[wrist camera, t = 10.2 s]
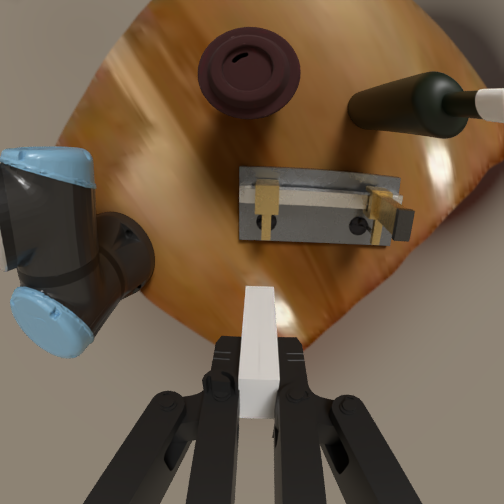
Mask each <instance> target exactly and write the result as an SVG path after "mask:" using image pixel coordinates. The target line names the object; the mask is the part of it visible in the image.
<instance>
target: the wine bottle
mask: <svg viewBox="0 0 504 504" xmlns="http://www.w3.org/2000/svg"><path fill="white" fill-rule="evenodd" d="M348 113H349V116H350V118H351V120H352V121H353V122H354V123H355V124H356V125H357V126H358V127H360V128H363V129H369V130H380V131H390V132H399V133H408V134H415V135H422V136H429V137H435V138H442V139H446V138H452V137H454V136H456V135H458V134H459V133H460V132H461V131H462V130H463V129H464V128H465V126H466V124H467V121H468V118H477V119H484V120H486V121H492V122H500V123H504V89H481V90H479V91H463V89H462V88H461V86H460V85H459V84H458V83H457V82H456V81H455V80H454V79H453V78H451V77H450V76H448V75H446V74H444V73H440V72H426V73H422V74H418V75H415V76H411V77H407V78H404V79H400V80H396V81H393V82H390V83H386V84H383V85H380V86H377V87H373V88H370V89H367V90H364V91H361V92H358V93H356V94H355V95H353V96H352V98H351V99H350V101H349V104H348Z"/></svg>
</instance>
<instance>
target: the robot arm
mask: <svg viewBox="0 0 504 504" xmlns="http://www.w3.org/2000/svg"><path fill="white" fill-rule="evenodd" d="M0 162H1V163H0V270H2V271H4V272H7V271H9V270H12V269H14V268H17V272H18V276H19V280H20V284H21V285H20V287H17V288H16V289H15V290H14V293H13V295H12V298H11V300H10V305H11V310H12V313H13V316H14V318H15V320H16V321H17V323H18V324H19V326H20V328H21V329H22V330H23V331H24V333H25V334H26V335H27V336H28V337H29V338H30V339H31V340H32V341H33V342H34V343H36V344H37V345H38V346H39V347H41V348H42V349H44V350H45V351H47V352H49V353H51V354H53V355H55V356H58V357H61V358H75V357H77V356H79V355H80V354H82V353H83V351H84V350H85V349H86V348H87V346H88V345H89V344H91V343H92V342H93V341H94V337H95V336H96V334H97V333H98V331H99V330H100V328H101V327H102V326H103V324H104V323H105V321H106V320H107V318H108V317H109V315H110V314H111V313H112V311H113V310H114V309H115V307H116V306H117V304H118V303H119V302H120V300H122V299H124V298H126V297H128V296H130V295H132V294H134V293H136V292H138V291H139V290H140V289H141V288H143V286H144V285H145V284H146V283H147V281H148V280H149V278H150V277H151V275H152V273H153V270H154V264H155V256H154V250H153V247H152V244H151V241H150V239H149V237H148V236H147V234H146V233H145V231H144V230H143V229H142V227H141V226H140V225H139V224H138V223H136V222H135V221H134V220H133V219H131V218H130V217H128V216H126V215H123V214H121V213H116V212H104V213H101V214H98V215H96V200H95V189H96V184H95V182H94V165H93V158H92V156H91V154H90V153H89V152H88V151H87V150H85V149H82V148H74V147H21V148H9V149H5V150H3V151H2V153H1V157H0ZM202 382H203V389H204V390H203V391H202V392H200V393H198V394H195V395H192V396H185V397H182V396H181V395H180V394H178V393H176V392H173V391H163V392H161V393H158V394H157V395H155V396H154V397H153V399H152V400H151V402H150V403H149V405H148V406H147V408H146V409H145V411H144V412H143V414H142V415H141V417H140V418H139V420H138V421H137V423H136V424H135V426H134V427H133V429H132V430H131V432H130V433H129V435H128V436H127V438H126V439H125V441H124V442H123V444H122V445H121V447H120V448H119V450H118V451H117V453H116V454H115V456H114V458H113V459H112V460H111V462H110V464H109V465H108V466H107V468H106V469H105V471H104V472H103V474H102V476H101V477H100V479H99V480H98V482H97V483H96V485H95V486H94V488H93V489H92V491H91V492H90V494H89V495H88V497H87V498H86V500H85V501H84V503H83V504H160V503H161V501H162V499H163V497H164V495H165V493H166V491H167V489H168V487H169V485H170V483H171V482H172V480H173V477H174V476H175V474H176V472H177V470H178V468H179V466H180V464H181V462H182V460H183V458H184V456H185V454H186V452H187V450H188V448H189V446H190V444H191V442H192V440H196V443H195V449H194V455H193V461H192V467H191V473H190V480H189V487H188V493H187V499H186V504H234V500H235V485H236V470H237V453H238V438H239V418H267V419H268V418H269V419H274V417H275V424H274V430H273V438H274V481H275V482H274V483H275V504H326V494H325V485H324V476H323V467H322V459H321V451H320V446H321V448H322V450H323V452H324V455H325V457H326V459H327V462H328V464H329V466H330V468H331V470H332V473H333V475H334V477H335V480H336V482H337V484H338V486H339V488H340V491H341V493H342V495H343V497H344V500H345V502H346V504H422V503H421V501H420V499H419V497H418V496H417V494H416V492H415V490H414V489H413V487H412V485H411V483H410V482H409V480H408V478H407V476H406V475H405V473H404V471H403V470H402V468H401V466H400V464H399V463H398V461H397V459H396V457H395V456H394V454H393V453H392V451H391V449H390V447H389V446H388V444H387V442H386V441H385V439H384V437H383V435H382V434H381V432H380V430H379V429H378V427H377V425H376V424H375V422H374V420H373V419H372V417H371V415H370V414H369V412H368V410H367V409H366V407H365V405H364V404H363V402H362V401H361V400H360V399H359V398H357V397H355V396H352V395H341V396H339V397H337V398H336V399H335V400H331V399H326V398H322V397H319V396H317V395H315V394H314V393H313V392H312V391H311V390H310V388H309V386H308V381H307V374H306V368H305V361H304V355H303V348H302V344H301V343H300V341H299V340H298V339H297V337H277V327H276V312H275V297H274V287H260V286H246V292H245V304H244V316H243V328H242V337H233V336H221V337H220V338H219V340H218V341H217V342H216V345H215V350H214V356H213V361H212V367H211V371H209V372H208V373H207V374H205V375H204V377H203V379H202Z"/></svg>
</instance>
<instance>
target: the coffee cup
mask: <svg viewBox="0 0 504 504" xmlns="http://www.w3.org/2000/svg"><path fill="white" fill-rule="evenodd" d="M299 81H300V64H299V60H298V57H297V55H296V53H295V51H294V50H293V48H292V47H291V45H290V44H289V43H288V42H287V41H286V40H285V39H284V38H282V37H281V36H279V35H278V34H276V33H274V32H272V31H269V30H266V29H262V28H257V27H242V28H237V29H234V30H231V31H228V32H226V33H224V34H222V35H220V36H219V37H217V38H216V39H215V40H214V41H212V42H211V43H210V44H209V46H208V47H207V48H206V50H205V51H204V53H203V54H202V56H201V59H200V62H199V66H198V82H199V86H200V89H201V91H202V93H203V95H204V96H205V98H206V99H207V101H208V102H209V103H210V104H211V105H212V106H213V107H215V108H216V109H217V110H219V111H220V112H222V113H224V114H226V115H229V116H232V117H235V118H240V119H258V118H263V117H266V116H269V115H271V114H273V113H275V112H277V111H279V110H280V109H281V108H283V107H284V106H285V105H286V104H287V103H288V102H289V101H290V100H291V98H292V97H293V95H294V94H295V92H296V90H297V88H298V85H299Z"/></svg>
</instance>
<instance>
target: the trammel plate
mask: <svg viewBox="0 0 504 504" xmlns="http://www.w3.org/2000/svg"><path fill="white" fill-rule="evenodd" d="M400 179H401V178H399V177H393V176H385V175H377V174H368V173H358V172H348V171H337V170H324V169H309V168H291V167H266V166H240V167H239V240H266V241H293V242H318V243H341V244H363V245H371V243H370V238H371V234H370V233H369V232H368V230H367V229H366V226H367V225H369V226H370V227H371V228H372V226H373V219H369V218H367V217H366V216H365V215H364V214H363V209H368V205H369V197H370V193H369V192H367V191H366V186H371V187H381V188H386V189H387V190H389V191H391V192H392V193H393V199H394V200H396V201H397V202H398V203H400V204H401V205H402V198H403V196H402V195H400V194H399V187H400ZM391 238H392V234H391V233H390V232H389V231H388V230H387V229H386V228H385V227H384V226H382V232H381V237H380V243H379V245H384V246H390V243H391Z"/></svg>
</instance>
